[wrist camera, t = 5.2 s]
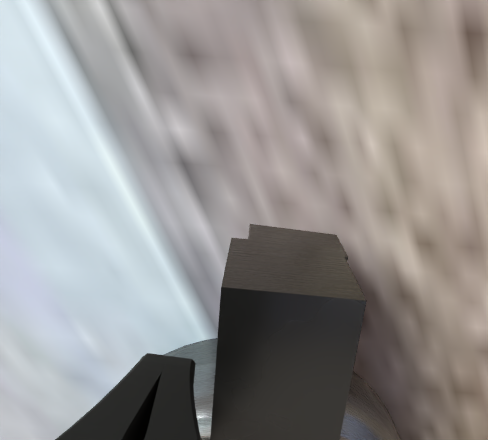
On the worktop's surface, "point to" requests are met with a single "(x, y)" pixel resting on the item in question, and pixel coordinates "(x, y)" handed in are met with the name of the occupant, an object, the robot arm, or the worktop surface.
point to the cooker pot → (360, 394)
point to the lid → (284, 343)
